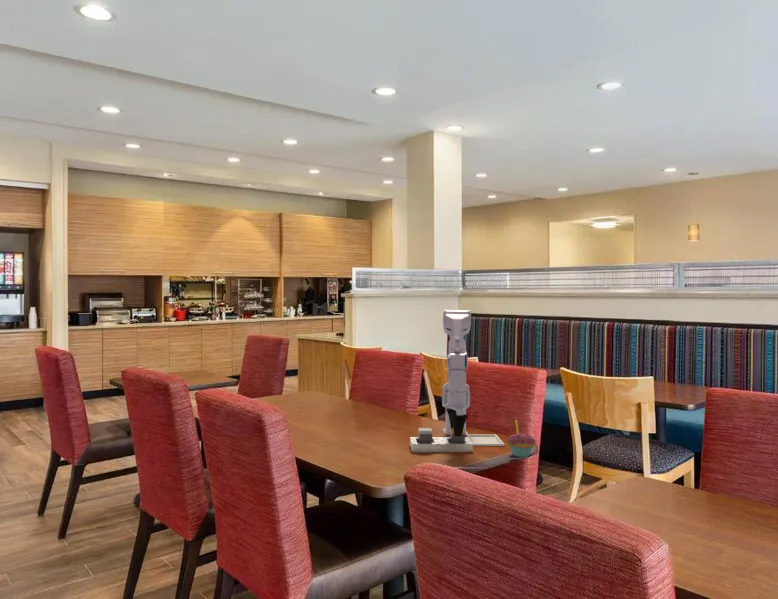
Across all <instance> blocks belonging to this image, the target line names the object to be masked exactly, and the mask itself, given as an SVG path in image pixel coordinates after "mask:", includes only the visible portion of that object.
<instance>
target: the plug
mask: <svg viewBox="0 0 778 599" xmlns="http://www.w3.org/2000/svg"><path fill="white" fill-rule="evenodd" d="M449 437H450V443H465V437H466V435H465V430H464V429H463V433H462V436H455V435H454V429H453V428H450V436H449Z"/></svg>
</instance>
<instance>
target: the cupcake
mask: <svg viewBox="0 0 778 599" xmlns="http://www.w3.org/2000/svg"><path fill="white" fill-rule="evenodd" d="M514 421H515V428H516V429H515V431H516V433H513V434H511V435H509V437H508V438H507V443H506V444H507V445H508V446H509V447H510V450H511V452H512V456H514V457H515V458H517V459H522V460H523V459H528V458H529V457H530V456H531V455H530V454H531V452H532V449H533V448H535V447H536V443H537V442H536V440H535V438H534V437H533V436H531V434H528V433H524V432H523V433H522V432H520V431H519V423H518V420H517V417H515V420H514Z"/></svg>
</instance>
